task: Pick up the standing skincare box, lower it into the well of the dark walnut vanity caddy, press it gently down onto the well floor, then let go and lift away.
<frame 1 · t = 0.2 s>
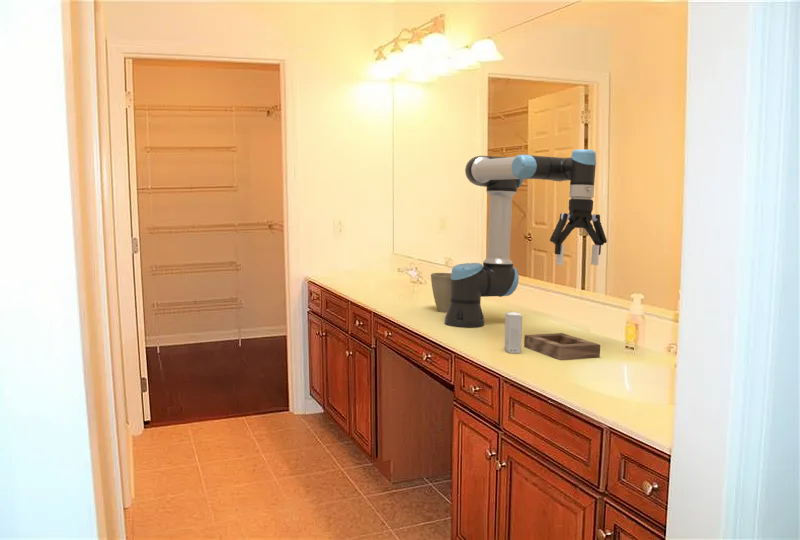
hand: (577, 265, 213), 28 cm above the worktop, tool pointing down, fingers open, 13 cm apart
skincare box: (512, 351, 209), on the worktop
caddy: (560, 352, 210), on the worktop
plant pot: (446, 311, 286), on the worktop
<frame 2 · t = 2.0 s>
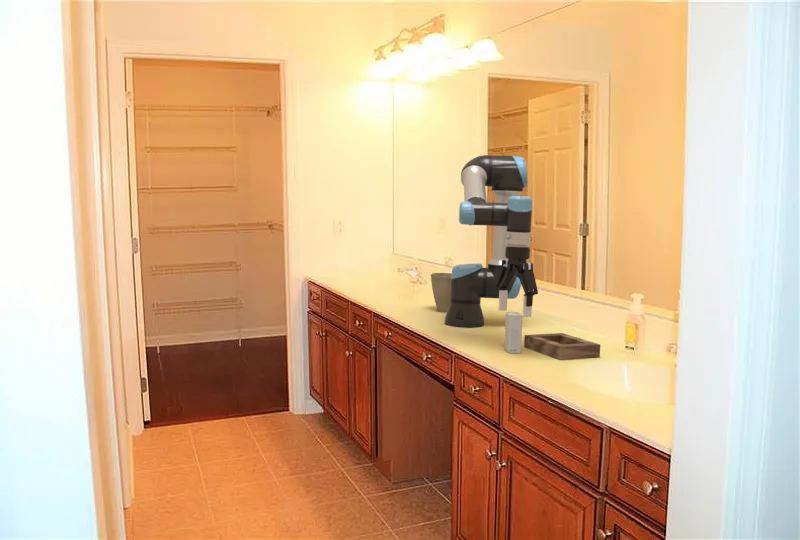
hand: (514, 313, 207), 12 cm above the worktop, tool pointing down, fingers open, 13 cm apart
nothing on the worktop moved.
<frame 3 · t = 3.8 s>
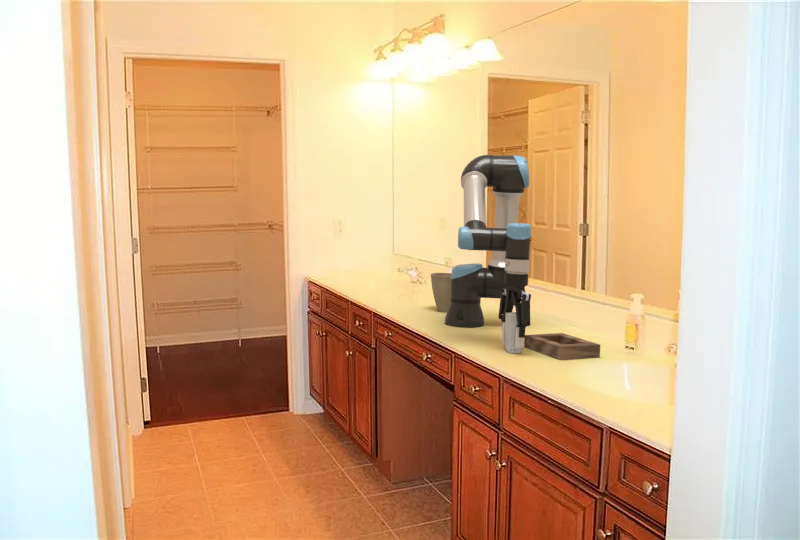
hand: (512, 344, 208), 2 cm above the worktop, tool pointing down, fingers closed on skincare box, 7 cm apart
skincare box: (512, 351, 209), on the worktop, touching gripper
everything else where it was.
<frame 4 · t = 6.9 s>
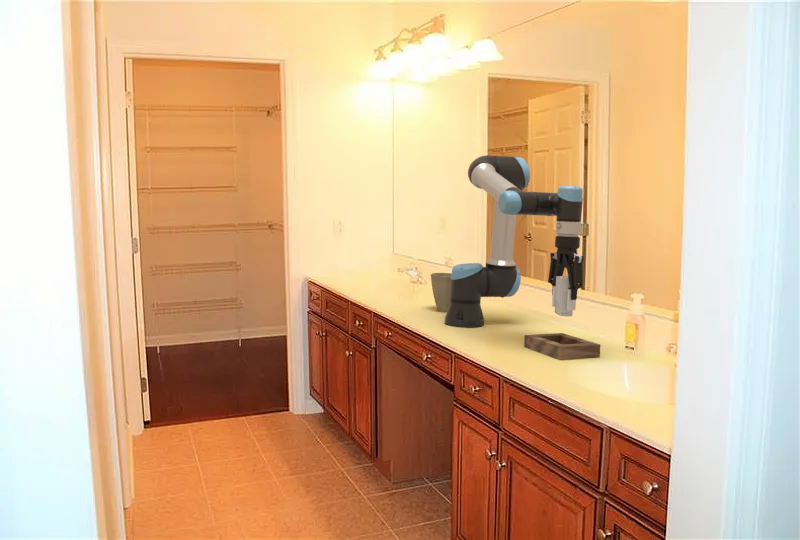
hand: (563, 308, 209), 14 cm above the worktop, tool pointing down, fingers closed on skincare box, 7 cm apart
skincare box: (562, 315, 209), point 12 cm above the worktop, touching gripper
everything else where it was.
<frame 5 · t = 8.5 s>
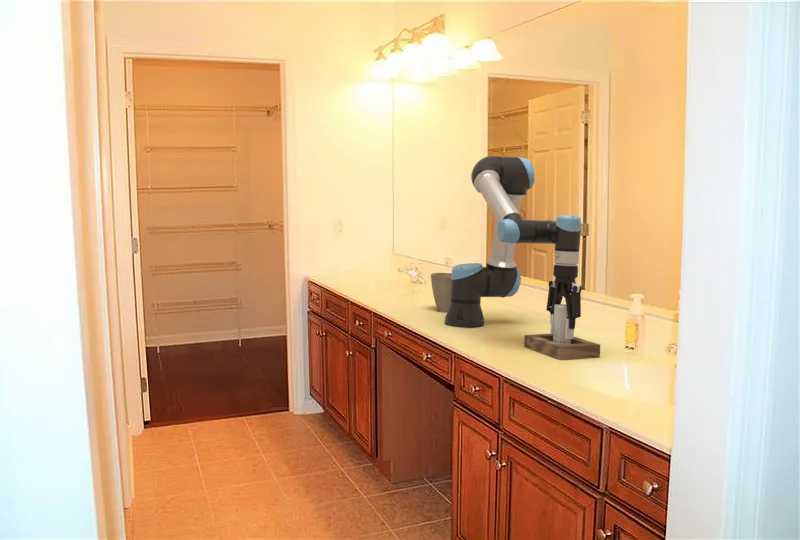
hand: (561, 336, 210), 5 cm above the worktop, tool pointing down, fingers closed on skincare box, 7 cm apart
skincare box: (560, 343, 210), point 3 cm above the worktop, touching gripper
everything else where it was.
when the fingers open (3 cm above the worktop, at t = 10.1 s): skincare box stays where it is, resting on caddy.
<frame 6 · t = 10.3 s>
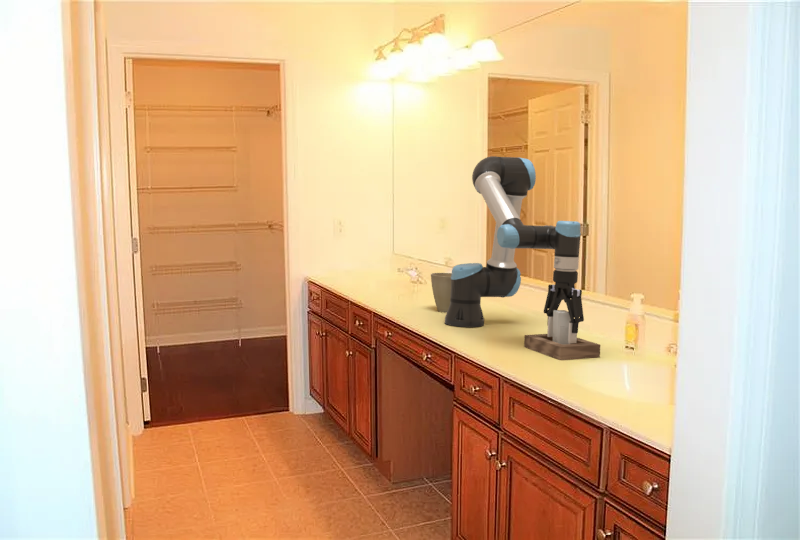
hand: (561, 339, 210), 4 cm above the worktop, tool pointing down, fingers open, 10 cm apart
skincare box: (560, 349, 210), point 1 cm above the worktop, touching caddy
everything else where it was.
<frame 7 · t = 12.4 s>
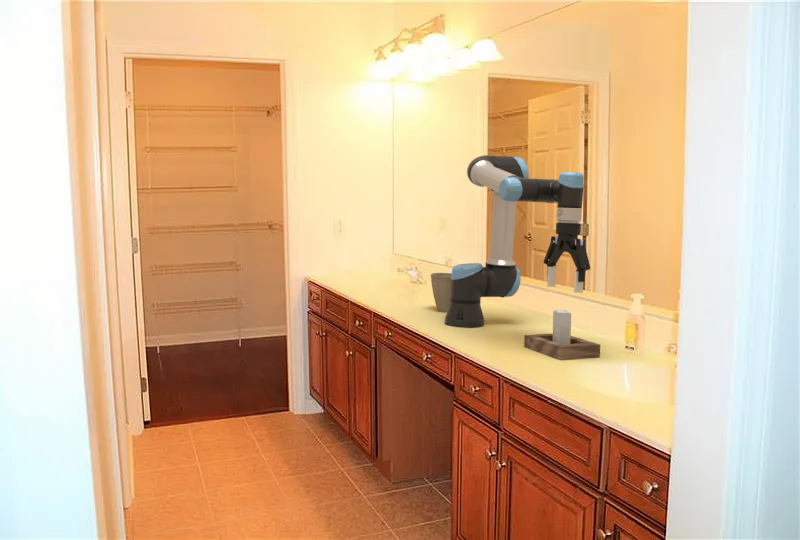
hand: (564, 289, 208), 20 cm above the worktop, tool pointing down, fingers open, 13 cm apart
nothing on the worktop moved.
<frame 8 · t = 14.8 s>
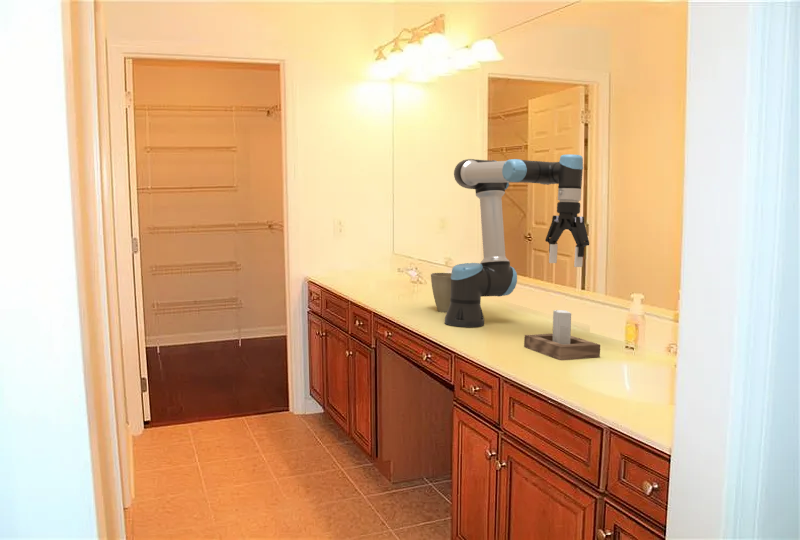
hand: (565, 265, 222), 27 cm above the worktop, tool pointing down, fingers open, 13 cm apart
nothing on the worktop moved.
at the end: skincare box 0.2 cm off-centre on the caddy, point 0.8 cm above the caddy's base; skincare box tilted 0°; the gripper is holding nothing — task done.
